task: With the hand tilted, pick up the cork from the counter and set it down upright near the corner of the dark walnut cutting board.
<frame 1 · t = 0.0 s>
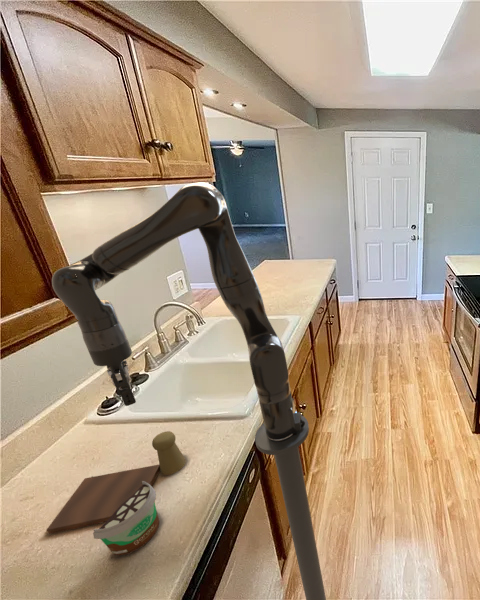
hand: (129, 396, 86), 23 cm above the worktop, tool pointing down, fingers open, 8 cm apart
food container: (145, 536, 75), on the worktop
cork: (173, 466, 93), on the worktop
cutting board: (110, 497, 84), on the worktop
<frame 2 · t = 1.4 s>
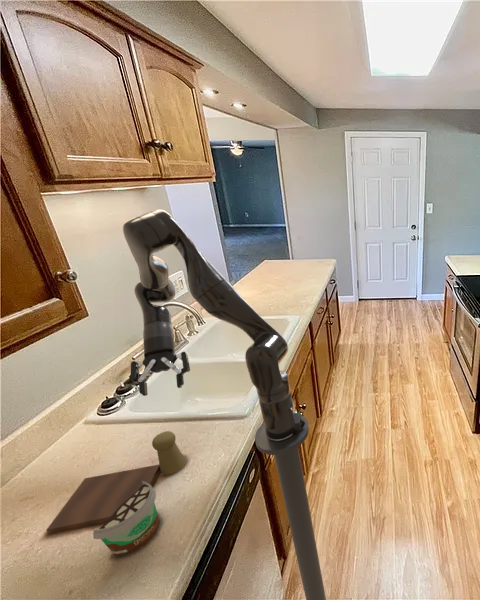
hand: (162, 391, 96), 18 cm above the worktop, tool tilted 45°, fingers open, 8 cm apart
nothing on the worktop moved.
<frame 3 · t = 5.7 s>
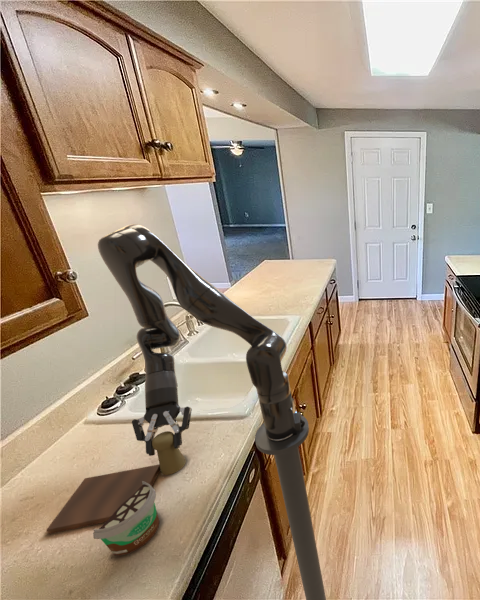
hand: (164, 451, 89), 7 cm above the worktop, tool tilted 45°, fingers closed on cork, 5 cm apart
cork: (173, 466, 93), on the worktop, touching gripper
everything else where it was.
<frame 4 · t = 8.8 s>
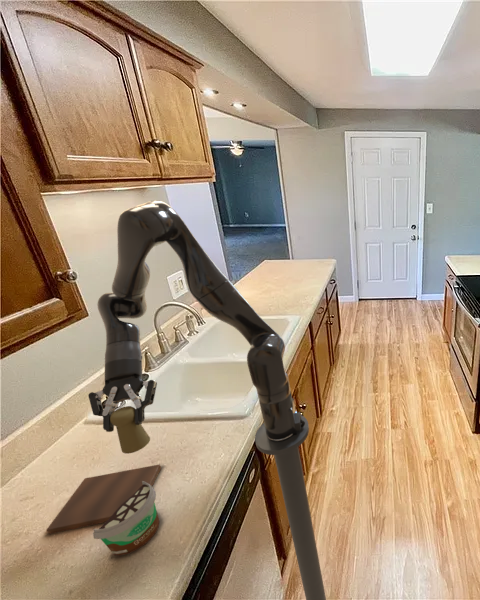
hand: (124, 427, 81), 19 cm above the worktop, tool tilted 45°, fingers closed on cork, 5 cm apart
cork: (136, 444, 85), point 12 cm above the worktop, touching gripper
everything else where it was.
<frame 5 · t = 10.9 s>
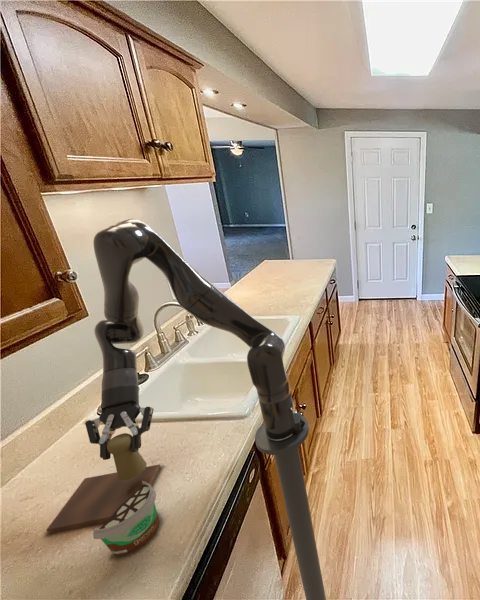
hand: (121, 455, 82), 12 cm above the worktop, tool tilted 45°, fingers closed on cork, 5 cm apart
cork: (132, 470, 86), point 5 cm above the worktop, touching gripper
everything else where it was.
when the fingers open (9 cm above the worktop, at t = 12.3 s): cork stays where it is, resting on cutting board.
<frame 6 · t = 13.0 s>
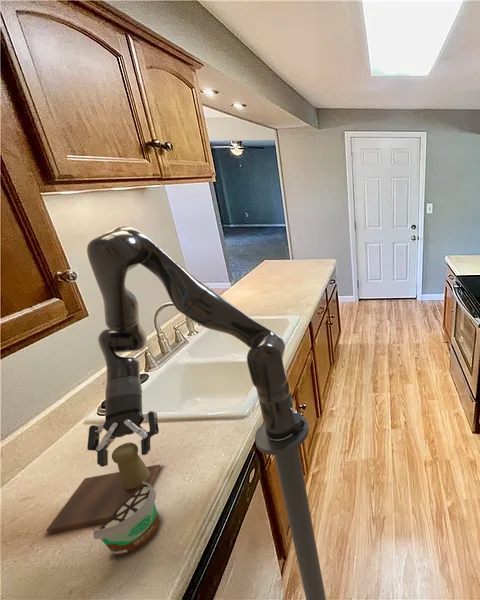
hand: (124, 460, 83), 10 cm above the worktop, tool tilted 45°, fingers open, 8 cm apart
cork: (137, 479, 88), point 1 cm above the worktop, touching cutting board
everything else where it was.
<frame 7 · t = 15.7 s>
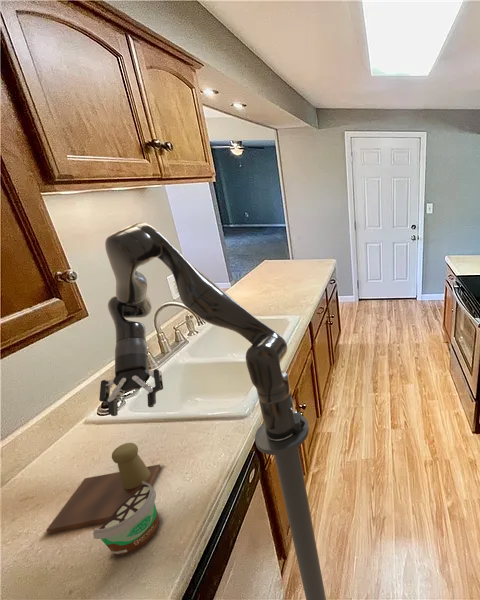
hand: (132, 411, 92), 15 cm above the worktop, tool tilted 45°, fingers open, 8 cm apart
nothing on the worktop moved.
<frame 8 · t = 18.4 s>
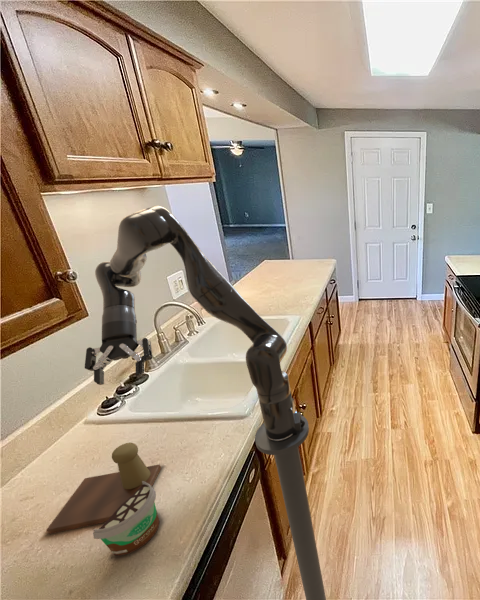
hand: (120, 380, 88), 26 cm above the worktop, tool tilted 45°, fingers open, 8 cm apart
nothing on the worktop moved.
at the end: cork 0.2 cm from the target spot on the cutting board, point 1.3 cm above the cutting board's base; cork tilted 0°; the gripper is holding nothing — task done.
